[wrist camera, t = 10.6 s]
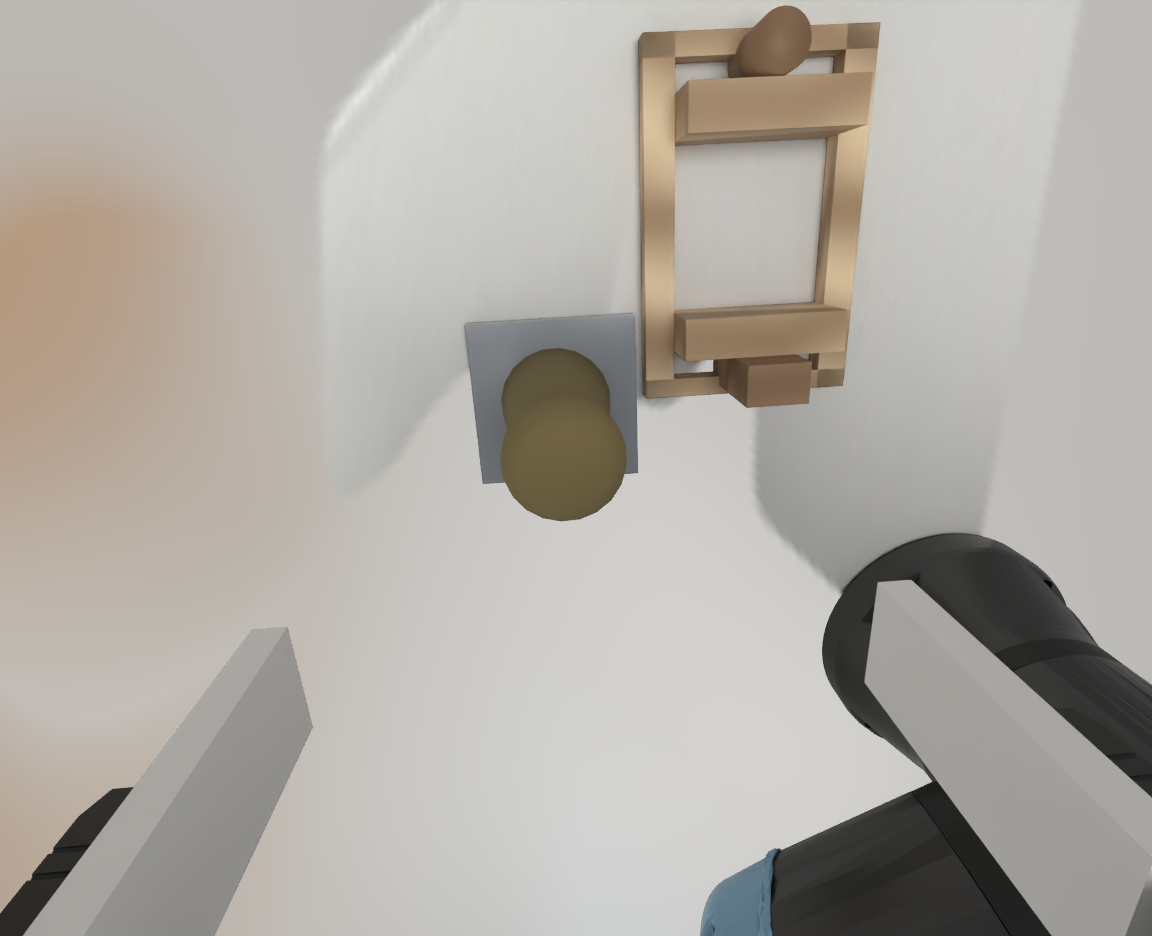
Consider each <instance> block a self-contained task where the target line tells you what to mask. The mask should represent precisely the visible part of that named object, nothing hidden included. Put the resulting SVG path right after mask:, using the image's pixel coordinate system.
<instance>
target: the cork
mask: <svg viewBox="0 0 1152 936" xmlns="http://www.w3.org/2000/svg"><path fill="white" fill-rule="evenodd" d="M501 402H502V409H503V416H504V420H505V423H506V426H507V431H506V433H505V435H504V439H503V444H502V449H501V454H500V463H501V470H502V477H503V479H504V481H505V483H506V484H507V486H508V488H509V490H510V492H511V494H512V496H513V497H514V498H515V499H516V500H517V501H518V502H519V503H520V504H521V505H522V506H523V507H524V508H525V509H526V510H528V511H530V512H532V513H534V514H536V515H538V516H540V517H542V518H546V519H552V520H557V521H568V520H576V519H581V518H584V517H586V516H588V515H591V514H593V513H596V512H598V510H600V509H601V508H602V507H603V506H605V505H606V504H607V503H608V502H609V501H611V500H612V498H613V497H614V495H615V494H616V492H617V490H618V489H619V487H620V486H621V484H622V480H623V476H624V473H625V469H626V465H627V455H626V444H625V441H624V439H623V437H622V434H621V432H620V430H619V427H618V425H617V423H616V422H615V421H614V420H613V419H612V418H611V416H610V393H609V387H608V385H607V382H606V380H605V377H604V375H603V373H602V372H601V371H600V370H599V368H598V367H597V366H596V365H595V364H594V363H593V362H592V360H590V359H588V358H587V357H585V356H583V355H581V354H580V353H578V352H576V351H572V350H567V349H562V348H553V349H544V350H540V351H538V352H535V353H533V354H531V355H529V356H527V357H525V358H524V359H523V360H522V361H521V362H519V363H518V364H517V365H516V366H515V367H514V368H513V369H512V371H511V373H510V374H509V376H508V378H507V380H506V382H505V383H504V388H503V394H502V399H501Z"/></svg>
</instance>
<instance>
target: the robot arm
mask: <svg viewBox="0 0 1152 936" xmlns="http://www.w3.org/2000/svg"><path fill="white" fill-rule="evenodd" d="M822 656H823V664H824V668H825V672H826V675H827V678H828V680H829V682H830V684H831V686H832V687H833V689H834V690H835V692H836V693H837V695H838V696H839V698H840V699H841V701H842V702H843V704H844V705H845V707H846V708H847V710H848V711H849V712H850V713H851V714H852V716H853V717H854V718H855V719H857V721H858V722H859V723H860V724H862V725H863V726H864V727H866V728H867V729H869V730H870V731H871V732H873V733H874V734H876V735H878V736H879V737H882V738H884V739H885V740H887V741H888V742H889V743H890V744H891V745H893V746H894V747H895V748H896V749H898V750H899V751H900V752H901V753H903V754H904V755H905V756H906V757H908V758H909V759H910V760H911V761H912V762H914V763H915V764H916V765H918V766H919V767H920V768H921V769H923V770H924V771H925V772H926V774H927V775H928V776H929V778H930V779H931V780H932V782H931V783H929V784H927V785H924V786H923V787H920V788H918V789H916V790H914V791H911V792H908V793H906V794H904V795H902V796H900V797H898V798H896V799H893V800H891V801H889V802H886V803H884V804H882V805H880V806H878V807H875V808H873V809H871V810H869V811H867V812H864V813H862V814H860V815H858V816H856V817H854V818H851V819H849V820H847V821H845V822H842V823H840V824H838V825H836V826H834V827H832V828H829V829H827V830H825V831H823V832H821V833H818V834H816V835H814V836H812V837H809V838H807V839H805V840H803V841H801V842H798V843H796V844H794V845H792V846H790V847H788V848H785V849H783V850H781V849H773V850H771V851H769V852H768V853H767V855H766V858H764V859H763V860H761V861H759V862H757V863H755V864H753V865H752V866H749V867H748V868H746V869H744V870H742V871H740V872H738V873H736V874H735V875H733V876H731V877H729V878H727V879H725V880H723V881H722V882H721V883H720V884H719V885H717V886H716V888H715V889H714V890H713V891H712V893H711V894H710V896H709V898H708V900H707V902H706V905H705V908H704V912H703V917H702V922H701V932H700V936H1152V685H1151V684H1150V683H1148V682H1147V681H1146V680H1144V679H1143V678H1141V677H1140V676H1139V675H1137V674H1136V673H1134V672H1133V671H1132V670H1130V669H1129V668H1127V667H1126V666H1124V665H1123V664H1122V663H1120V662H1119V661H1118V660H1116V659H1115V658H1114V657H1112V656H1111V655H1110V654H1108V653H1107V652H1105V651H1104V650H1103V649H1101V648H1100V647H1099V646H1098V645H1097V643H1096V642H1095V641H1094V639H1093V637H1092V636H1091V635H1090V633H1089V632H1088V630H1087V629H1086V628H1085V627H1084V625H1083V624H1082V623H1081V621H1080V620H1079V619H1078V617H1077V616H1076V615H1075V614H1074V613H1073V612H1072V611H1071V610H1070V609H1069V608H1068V607H1067V606H1066V603H1065V600H1064V598H1063V596H1062V594H1061V593H1060V591H1059V589H1058V588H1057V586H1056V585H1055V584H1054V582H1053V581H1052V580H1051V578H1050V577H1048V575H1047V574H1046V573H1045V572H1044V571H1042V570H1041V569H1040V568H1039V567H1038V566H1037V565H1035V564H1034V563H1033V562H1031V561H1030V560H1028V559H1026V558H1025V557H1024V556H1022V555H1020V554H1019V553H1017V552H1016V551H1014V550H1013V549H1011V548H1010V547H1008V546H1006V545H1005V544H1002V543H1000V542H998V541H996V540H992V539H990V538H986V537H982V536H976V535H968V534H950V535H941V536H935V537H930V538H926V539H922V540H919V541H916V542H913V543H910V544H908V545H905V546H903V547H901V548H898V549H896V550H894V551H893V552H891V553H889V554H887V555H885V556H884V557H882V558H881V559H879V560H878V561H876V562H875V563H873V564H872V565H871V566H869V567H868V568H867V569H866V570H865V571H863V572H862V573H861V574H860V575H859V576H858V577H857V578H856V579H855V580H854V581H853V582H852V583H851V584H850V585H849V587H848V588H847V589H846V590H845V592H844V593H843V594H842V596H841V597H840V599H839V600H838V602H837V603H836V605H835V607H834V609H833V611H832V613H831V615H830V617H829V620H828V622H827V625H826V628H825V633H824V637H823V646H822ZM312 728H313V726H312V722H311V718H310V714H309V710H308V706H307V702H306V698H305V695H304V690H303V686H302V682H301V678H300V674H299V671H298V666H297V663H296V659H295V655H294V651H293V647H292V643H291V639H290V635H289V631H288V627H281V628H267V629H254V630H251V632H250V633H249V634H248V636H247V637H246V638H245V640H244V641H243V642H242V644H241V645H240V646H239V648H238V649H237V650H236V652H235V653H234V654H233V656H232V657H231V658H230V660H229V661H228V662H227V664H226V665H225V666H224V668H223V669H222V670H221V672H220V673H219V674H218V676H217V677H216V678H215V680H214V681H213V682H212V684H211V685H210V686H209V688H208V689H207V690H206V692H205V693H204V694H203V696H202V697H201V698H200V700H199V701H198V702H197V704H196V705H195V706H194V708H193V709H192V710H191V712H190V713H189V715H188V716H187V717H186V718H185V720H184V721H183V722H182V724H181V725H180V726H179V728H178V729H177V730H176V732H175V733H174V734H173V736H172V737H171V738H170V740H169V741H168V742H167V744H166V745H165V746H164V748H163V749H162V751H161V752H160V753H159V755H158V756H157V757H156V758H155V760H154V761H153V763H152V764H151V765H150V766H149V768H148V769H147V771H146V772H145V773H144V775H143V776H142V777H141V778H140V780H139V781H138V782H137V784H136V785H135V786H134V787H130V788H120V789H119V788H118V789H112V790H111V791H109V792H108V793H107V794H106V795H104V796H103V797H102V798H101V799H100V800H98V801H97V802H96V803H95V804H93V805H92V806H91V807H90V808H88V809H87V810H86V811H85V812H84V813H82V814H81V815H80V816H79V817H78V818H77V819H76V820H75V822H74V823H73V824H72V825H71V827H70V828H69V829H68V830H67V832H66V833H65V834H64V835H63V837H62V838H61V839H60V840H59V841H58V843H57V844H56V845H55V846H54V848H53V849H54V850H53V853H52V854H48V855H47V856H46V858H45V859H44V860H43V861H42V862H41V864H40V865H39V866H38V867H37V869H36V870H35V871H34V872H33V874H32V879H31V880H30V881H26V882H25V884H24V885H23V886H22V887H21V889H20V890H19V891H18V893H16V895H15V896H14V897H13V898H12V900H11V901H10V902H9V903H8V905H7V906H6V907H5V908H4V910H3V911H2V912H1V913H0V936H215V934H216V931H217V929H218V927H219V925H220V923H221V921H222V919H223V917H224V914H225V912H226V910H227V908H228V906H229V904H230V902H231V900H232V897H233V895H234V893H235V891H236V889H237V887H238V885H239V883H240V880H241V878H242V876H243V874H244V872H245V870H246V868H247V866H248V863H249V861H250V859H251V857H252V855H253V853H254V851H255V849H256V847H257V844H258V842H259V840H260V838H261V836H262V834H263V832H264V830H265V827H266V825H267V823H268V821H269V819H270V817H271V815H272V813H273V810H274V808H275V806H276V804H277V802H278V800H279V798H280V796H281V794H282V791H283V789H284V787H285V785H286V783H287V781H288V779H289V777H290V774H291V772H292V770H293V768H294V766H295V764H296V762H297V759H298V757H299V755H300V753H301V751H302V749H303V747H304V745H305V742H306V740H307V738H308V736H309V734H310V732H311V730H312Z"/></svg>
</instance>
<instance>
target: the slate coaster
mask: <svg viewBox="0 0 1152 936" xmlns="http://www.w3.org/2000/svg"><path fill="white" fill-rule="evenodd" d="M465 333H466V341H467V350H468V359H469V368H470V376H471V385H472V394H473V403H474V411H475V420H476V429H477V437H478V445H479V455H480V464H481V472H482V480H483V484H489V483H503V482H505V481H504V479H503V477H502V470H501V463H500V454H501V449H502V444H503V439H504V435H505V433H506V431H507V426H506V423H505V420H504V416H503V409H502V402H501V399H502V394H503V388H504V383H505V382H506V380H507V378H508V376H509V374H510V373H511V371H512V369H513V368H514V367H515V366H516V365H517V364H518V363H519V362H521V361H522V360H523V359H524V358H525V357H527V356H529V355H531V354H533V353H535V352H538V351H540V350H544V349H553V348H562V349H567V350H572V351H576V352H578V353H580V354H581V355H583V356H585V357H587V358H588V359H590V360H592V362H593V363H594V364H595V365H596V366H597V367H598V368H599V370H600V371H601V372H602V373H603V375H604V377H605V380H606V382H607V385H608V387H609V393H610V416H611V418H612V419H613V420H614V421H615V422H616V423H617V425H618V427H619V430H620V432H621V434H622V437H623V439H624V441H625V444H626V455H627V465H626V469H625V473H624V474H630V473H638V452H637V451H638V450H637V393H636V337H635V314H633V313H626V314H610V315H593V316H577V317H560V318H544V319H527V320H511V321H495V322H478V323H466V324H465Z"/></svg>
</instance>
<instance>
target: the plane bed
mask: <svg viewBox="0 0 1152 936" xmlns="http://www.w3.org/2000/svg"><path fill="white" fill-rule="evenodd" d="M879 31H880V22H874V23H851V24H828V25H810V23H809V21H808V19H807V17H806V16H805V14H804V13H803V12H802V11H801V10H799V9H797V8H795V7H793V6H780V7H777V8H775V9H773V10H772V11H770V12H769V13H768V14H767V15H766V16H765V17H764V18H763V19H762V20H761V21H760V22H759V23H758V24H757V25H755V26H754V27H753V28H736V29H713V30H690V31H668V32H645V33H642V34H641V36H640V38H639V40H638V55H639V127H640V200H641V272H642V345H643V394H644V396H645V397H646V398H647V399H650V398H666V397H681V396H696V395H711V394H725V393H729V394H730V395H732V396H733V397H734V398H735V399H737V400H738V401H739V402H740V403H742V404H743V405H744V406H745V407H747V408H750V407H765V406H780V405H795V404H809V393H810V388H817V387H832V386H843V379H844V369H845V360H846V350H847V340H848V331H849V321H850V311H851V302H852V292H853V282H854V273H855V263H856V253H857V244H858V234H859V224H860V215H861V205H862V195H863V186H864V176H865V166H866V157H867V147H868V137H869V128H870V118H871V108H872V99H873V89H874V79H875V70H876V60H877V50H878V41H879ZM833 56H834V67H833V73H832V74H811V75H789V76H785V75H786V74H788V73H789V72H791V71H792V70H794V69H795V68H797V67H798V66H799V65H800V64H801V63H802V62H803V61H804V59H805V58H811V57H833ZM723 61H728V74H729V78H725V79H704V80H689V81H688V82H687V83H686V84H685V85H684V86H683V87H682V88H681V89H680V90H679V91H678V92H677V93H676V94H675V64H679V63H701V62H723ZM819 138H828V140H827V152H826V164H825V176H824V188H823V200H822V213H821V225H820V237H819V249H818V261H817V273H816V285H815V297H814V302H807V303H791V304H774V305H758V306H741V307H725V308H708V309H692V310H675V311H674V214H675V146H680V145H700V144H720V143H740V142H759V141H779V140H799V139H819ZM674 352H675V353H676V354H677V355H679V356H680V357H681V358H682V359H684V360H685V361H699V360H714V362H713V372H700V373H685V374H674ZM809 353H810V358H809V360H807V359H804V358H802V357H800V356H798V355H796V354H809Z"/></svg>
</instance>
